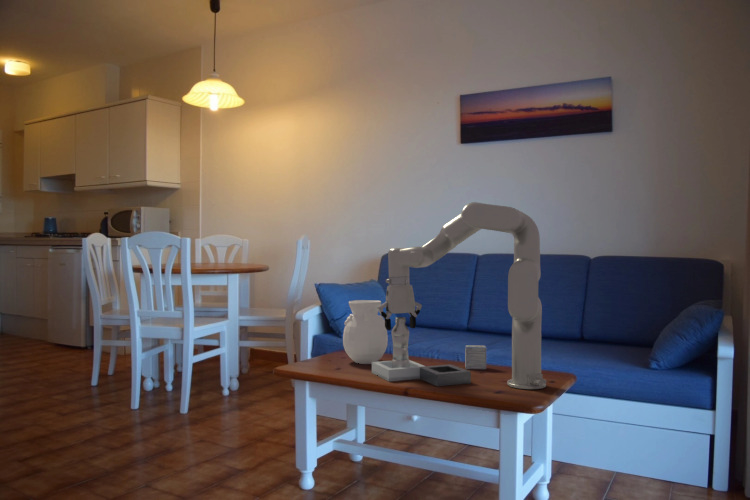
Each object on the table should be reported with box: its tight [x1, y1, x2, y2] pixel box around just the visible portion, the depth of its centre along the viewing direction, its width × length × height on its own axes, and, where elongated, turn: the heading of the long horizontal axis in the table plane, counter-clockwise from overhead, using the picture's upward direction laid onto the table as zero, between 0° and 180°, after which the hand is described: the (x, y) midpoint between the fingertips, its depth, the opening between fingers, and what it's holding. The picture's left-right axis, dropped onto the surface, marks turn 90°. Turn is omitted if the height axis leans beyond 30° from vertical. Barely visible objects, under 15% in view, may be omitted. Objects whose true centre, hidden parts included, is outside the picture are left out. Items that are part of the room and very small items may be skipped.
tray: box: [371, 359, 426, 382], centre depth 211 cm, size 16×15×4 cm
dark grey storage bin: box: [419, 363, 472, 387], centre depth 202 cm, size 14×13×4 cm
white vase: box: [342, 299, 389, 365], centre depth 237 cm, size 19×18×25 cm
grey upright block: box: [464, 344, 487, 370], centre depth 224 cm, size 8×4×9 cm, turn 84°
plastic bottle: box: [391, 316, 410, 368], centre depth 211 cm, size 6×7×20 cm
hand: (400, 328), depth 211 cm, fingers open, 9 cm apart
